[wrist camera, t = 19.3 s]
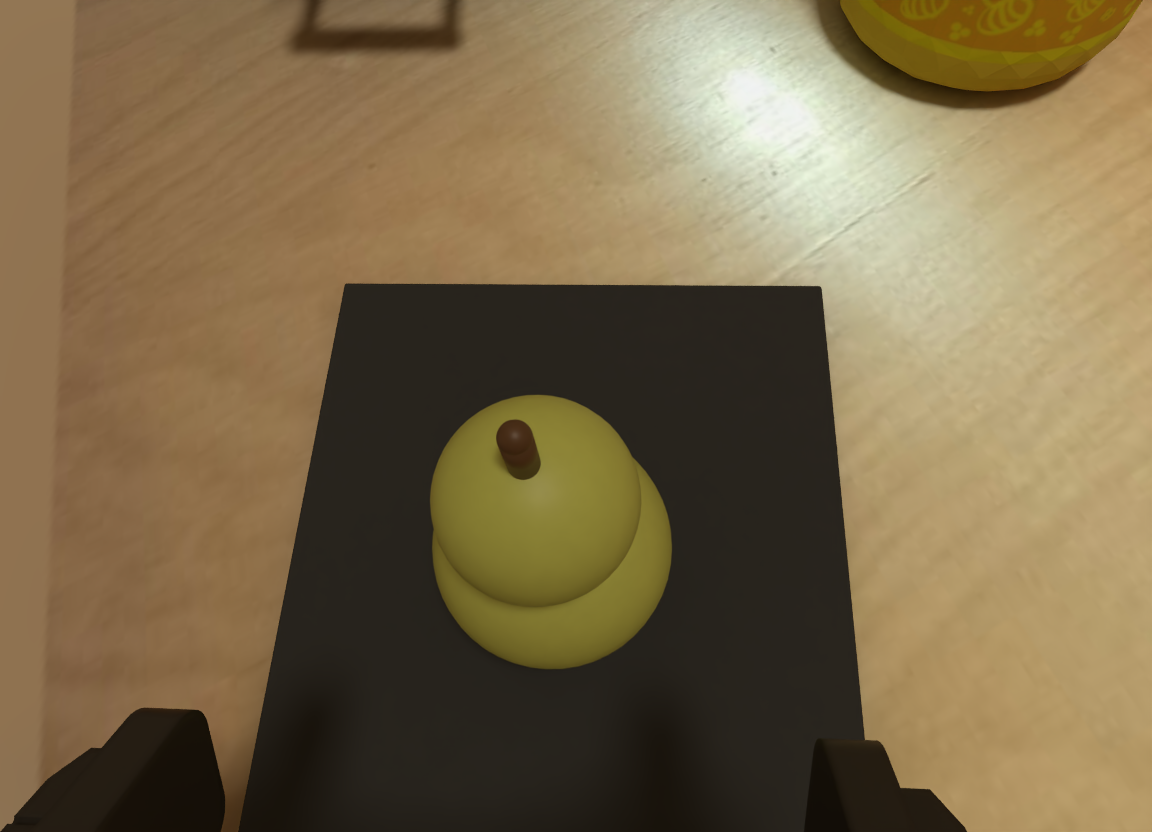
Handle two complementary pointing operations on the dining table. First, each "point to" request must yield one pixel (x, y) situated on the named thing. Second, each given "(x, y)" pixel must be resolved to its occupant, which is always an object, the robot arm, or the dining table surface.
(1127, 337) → the dining table surface
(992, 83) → the mug
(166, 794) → the robot arm
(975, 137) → the dining table surface
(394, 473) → the mat
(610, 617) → the pear
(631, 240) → the dining table surface
